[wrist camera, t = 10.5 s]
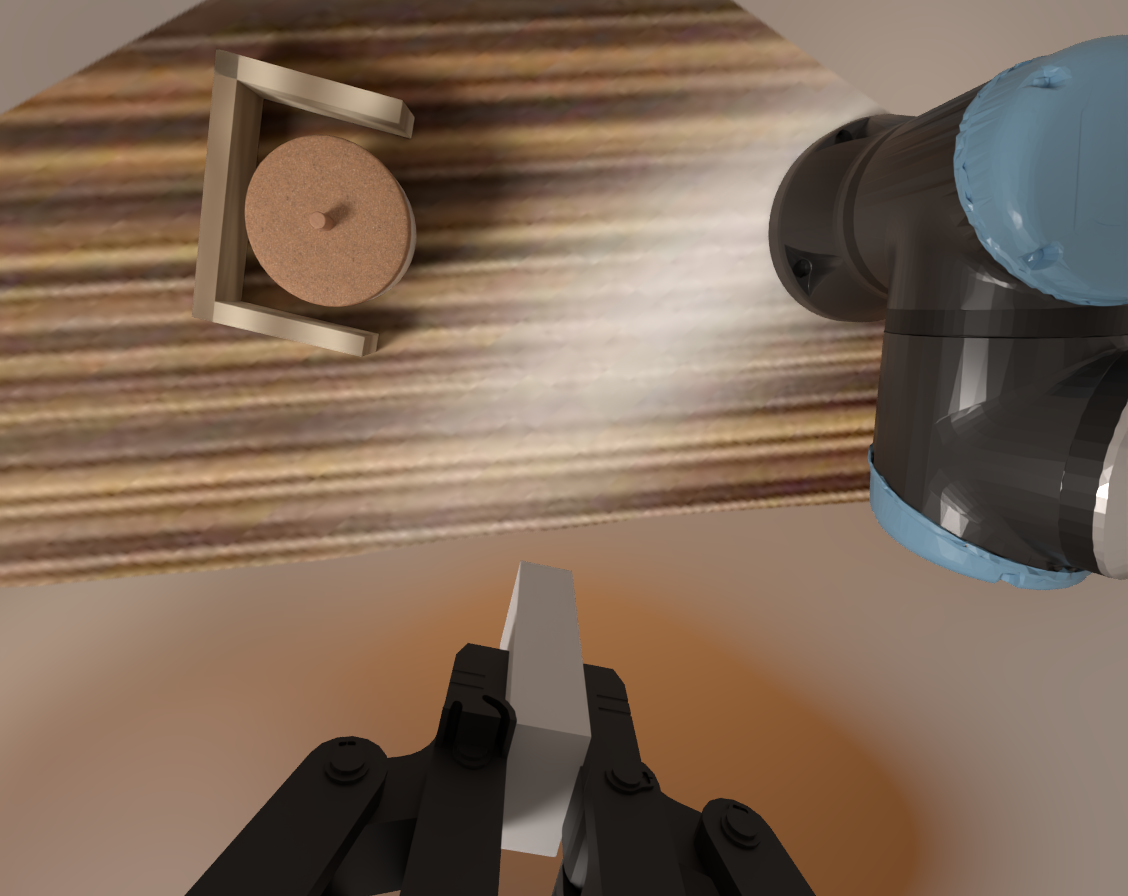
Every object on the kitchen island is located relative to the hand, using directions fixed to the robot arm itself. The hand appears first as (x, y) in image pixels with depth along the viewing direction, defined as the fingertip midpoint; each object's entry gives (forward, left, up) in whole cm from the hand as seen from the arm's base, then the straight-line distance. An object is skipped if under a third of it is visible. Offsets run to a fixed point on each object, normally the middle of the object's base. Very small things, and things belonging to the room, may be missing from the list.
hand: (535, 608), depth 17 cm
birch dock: (+20, -10, -34) cm, 41 cm away
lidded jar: (+17, -10, -35) cm, 40 cm away
